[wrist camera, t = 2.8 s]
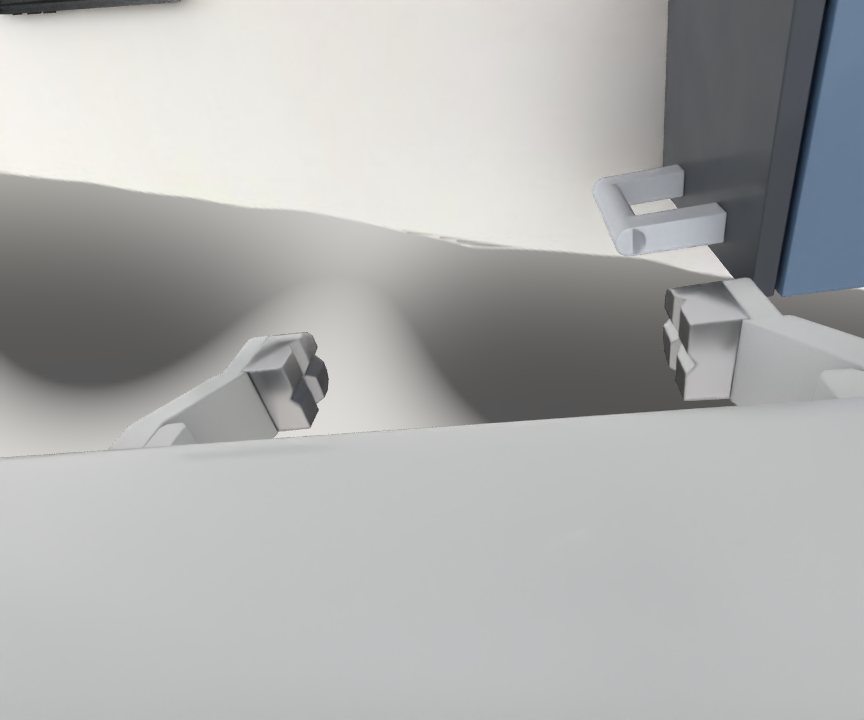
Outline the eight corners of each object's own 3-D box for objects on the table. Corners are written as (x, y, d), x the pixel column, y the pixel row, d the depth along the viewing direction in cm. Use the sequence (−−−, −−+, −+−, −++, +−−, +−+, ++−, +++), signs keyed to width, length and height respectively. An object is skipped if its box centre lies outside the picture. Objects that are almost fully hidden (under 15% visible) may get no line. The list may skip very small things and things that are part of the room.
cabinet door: (586, 201, 38) (629, 314, 25) (573, -69, 29) (629, -124, 16) (676, 186, 37) (774, 296, 23) (691, -103, 28) (862, -195, 14)
